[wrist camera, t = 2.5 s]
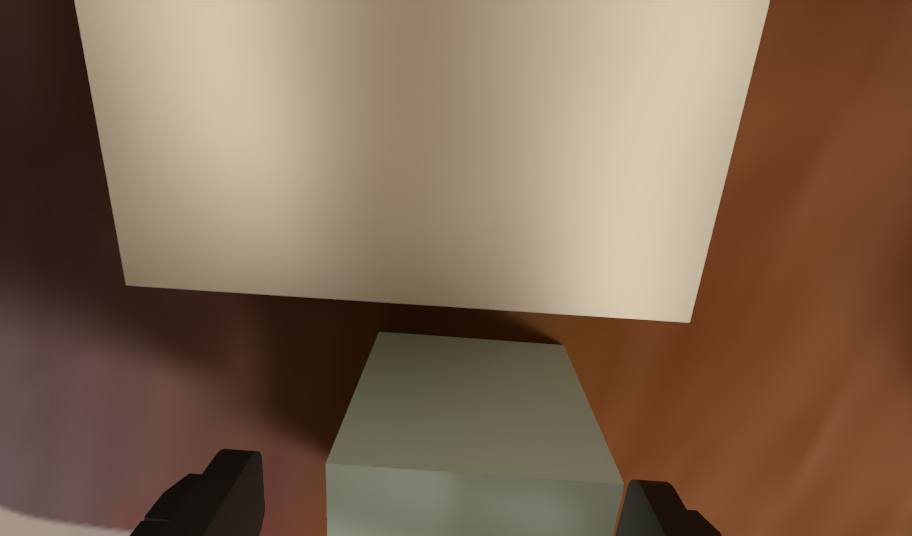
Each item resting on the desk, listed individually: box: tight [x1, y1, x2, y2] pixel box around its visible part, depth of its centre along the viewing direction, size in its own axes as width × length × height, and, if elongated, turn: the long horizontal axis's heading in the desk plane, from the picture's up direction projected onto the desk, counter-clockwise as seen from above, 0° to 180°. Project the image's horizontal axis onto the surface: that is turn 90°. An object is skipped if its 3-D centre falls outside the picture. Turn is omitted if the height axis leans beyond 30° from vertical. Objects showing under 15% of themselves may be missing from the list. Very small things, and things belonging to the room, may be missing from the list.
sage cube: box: [326, 332, 624, 536], centre depth 11 cm, size 5×5×5 cm
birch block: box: [74, 0, 770, 323], centre depth 8 cm, size 10×10×4 cm
